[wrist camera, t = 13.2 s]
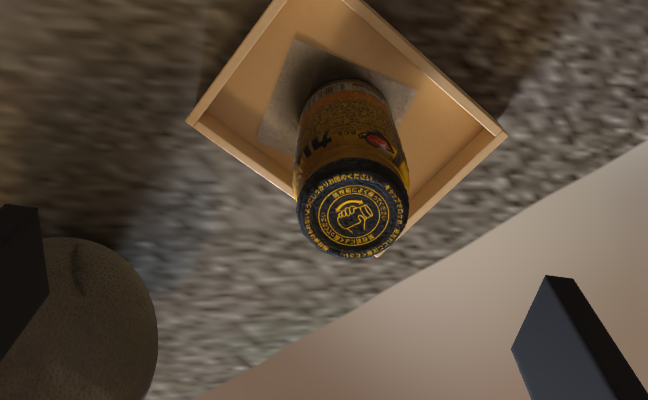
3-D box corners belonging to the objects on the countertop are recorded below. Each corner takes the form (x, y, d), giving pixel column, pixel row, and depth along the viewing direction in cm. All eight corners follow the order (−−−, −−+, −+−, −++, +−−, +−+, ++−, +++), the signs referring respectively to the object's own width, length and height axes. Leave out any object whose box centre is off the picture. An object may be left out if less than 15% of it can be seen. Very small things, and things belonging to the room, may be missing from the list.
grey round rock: (-33, 251, 40) (-211, 417, 27) (109, 173, 36) (-13, 321, 23) (89, 365, 46) (-7, 547, 33) (221, 308, 42) (173, 486, 29)
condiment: (369, 183, 36) (386, 293, 26) (254, 139, 34) (223, 238, 24) (417, 89, 33) (460, 172, 22) (293, 37, 31) (276, 99, 21)
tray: (193, 108, 34) (184, 121, 32) (308, -50, 29) (306, -47, 27) (374, 238, 39) (377, 258, 37) (497, 121, 34) (509, 135, 32)
